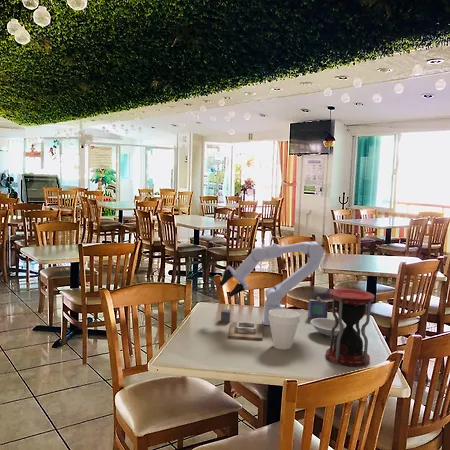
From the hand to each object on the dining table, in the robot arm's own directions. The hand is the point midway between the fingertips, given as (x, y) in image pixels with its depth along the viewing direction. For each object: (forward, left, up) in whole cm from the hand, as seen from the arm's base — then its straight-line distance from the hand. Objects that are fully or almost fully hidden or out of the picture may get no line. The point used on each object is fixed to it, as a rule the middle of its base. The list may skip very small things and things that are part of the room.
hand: (225, 290), depth 219 cm
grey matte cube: (-1, +1, -14) cm, 14 cm away
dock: (-11, +14, -14) cm, 23 cm away
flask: (-44, -13, -14) cm, 48 cm away
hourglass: (-50, +37, -14) cm, 63 cm away
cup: (-26, +29, -14) cm, 41 cm away
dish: (-46, +11, -14) cm, 49 cm away
